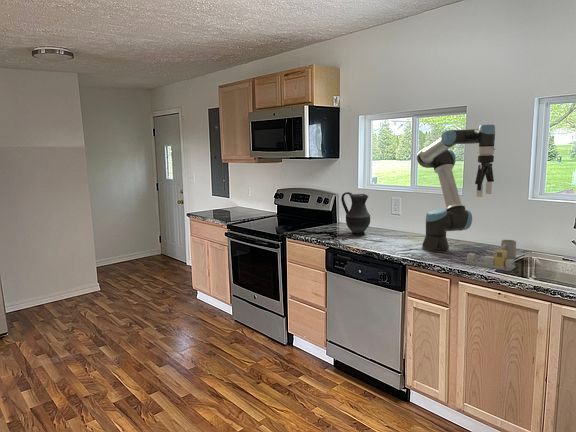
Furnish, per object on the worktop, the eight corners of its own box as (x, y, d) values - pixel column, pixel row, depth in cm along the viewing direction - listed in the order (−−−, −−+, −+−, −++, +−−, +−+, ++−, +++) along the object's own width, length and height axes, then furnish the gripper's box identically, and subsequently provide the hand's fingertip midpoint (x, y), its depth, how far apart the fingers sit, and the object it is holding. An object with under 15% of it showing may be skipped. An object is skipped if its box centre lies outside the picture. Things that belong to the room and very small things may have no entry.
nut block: (494, 266, 212) (494, 251, 211) (497, 264, 215) (497, 249, 214) (503, 268, 209) (504, 252, 208) (506, 265, 212) (507, 250, 211)
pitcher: (364, 238, 286) (364, 194, 281) (337, 235, 297) (336, 193, 292) (373, 233, 301) (374, 191, 295) (347, 230, 311) (346, 190, 306)
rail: (464, 263, 220) (465, 255, 219) (471, 260, 227) (471, 251, 226) (510, 271, 205) (511, 262, 204) (516, 267, 212) (516, 258, 211)
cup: (517, 257, 229) (518, 241, 228) (509, 260, 223) (510, 244, 222) (504, 254, 235) (505, 239, 234) (495, 258, 229) (496, 242, 228)
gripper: (485, 155, 208) (483, 198, 212) (501, 153, 226) (499, 193, 229) (469, 155, 213) (467, 197, 217) (486, 153, 231) (484, 192, 234)
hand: (484, 195), depth 223 cm, fingers open, 13 cm apart
